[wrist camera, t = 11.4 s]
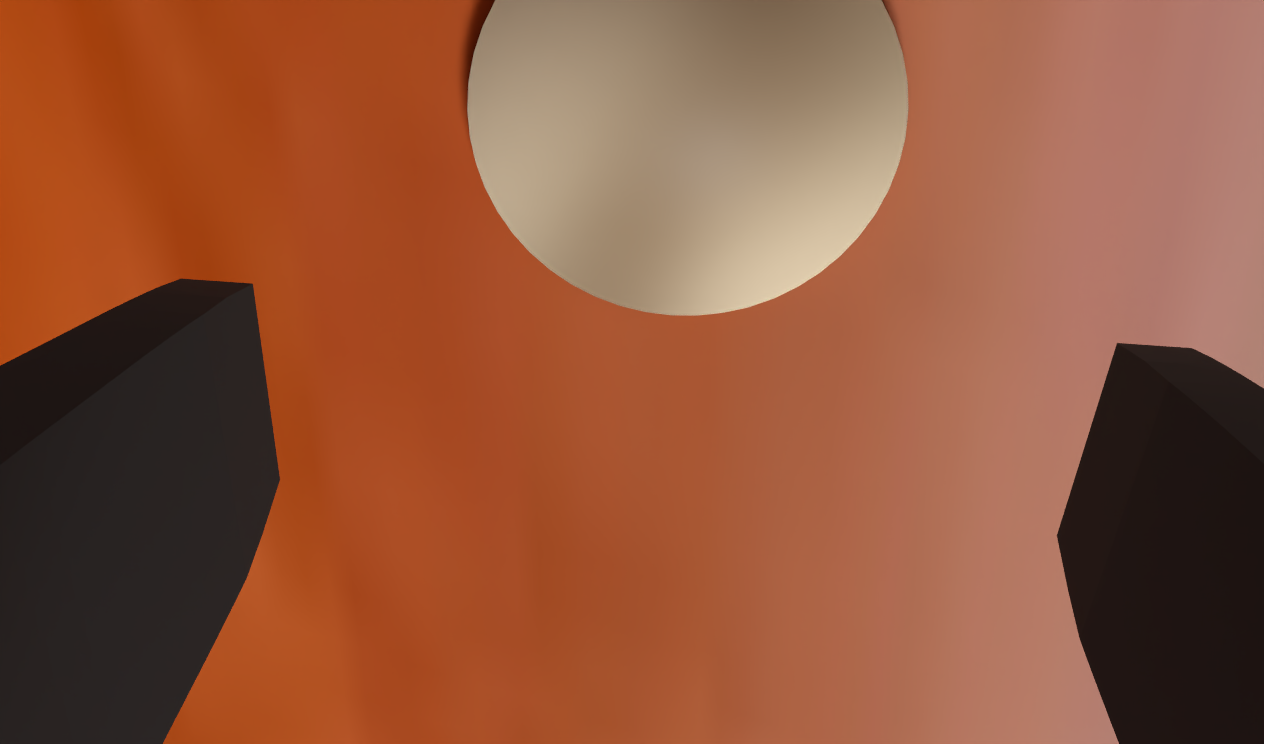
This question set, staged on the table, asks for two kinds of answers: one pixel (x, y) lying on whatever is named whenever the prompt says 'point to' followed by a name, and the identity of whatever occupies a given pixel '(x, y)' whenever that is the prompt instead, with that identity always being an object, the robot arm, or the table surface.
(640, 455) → the table surface
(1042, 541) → the table surface
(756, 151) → the coaster
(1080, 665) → the table surface
